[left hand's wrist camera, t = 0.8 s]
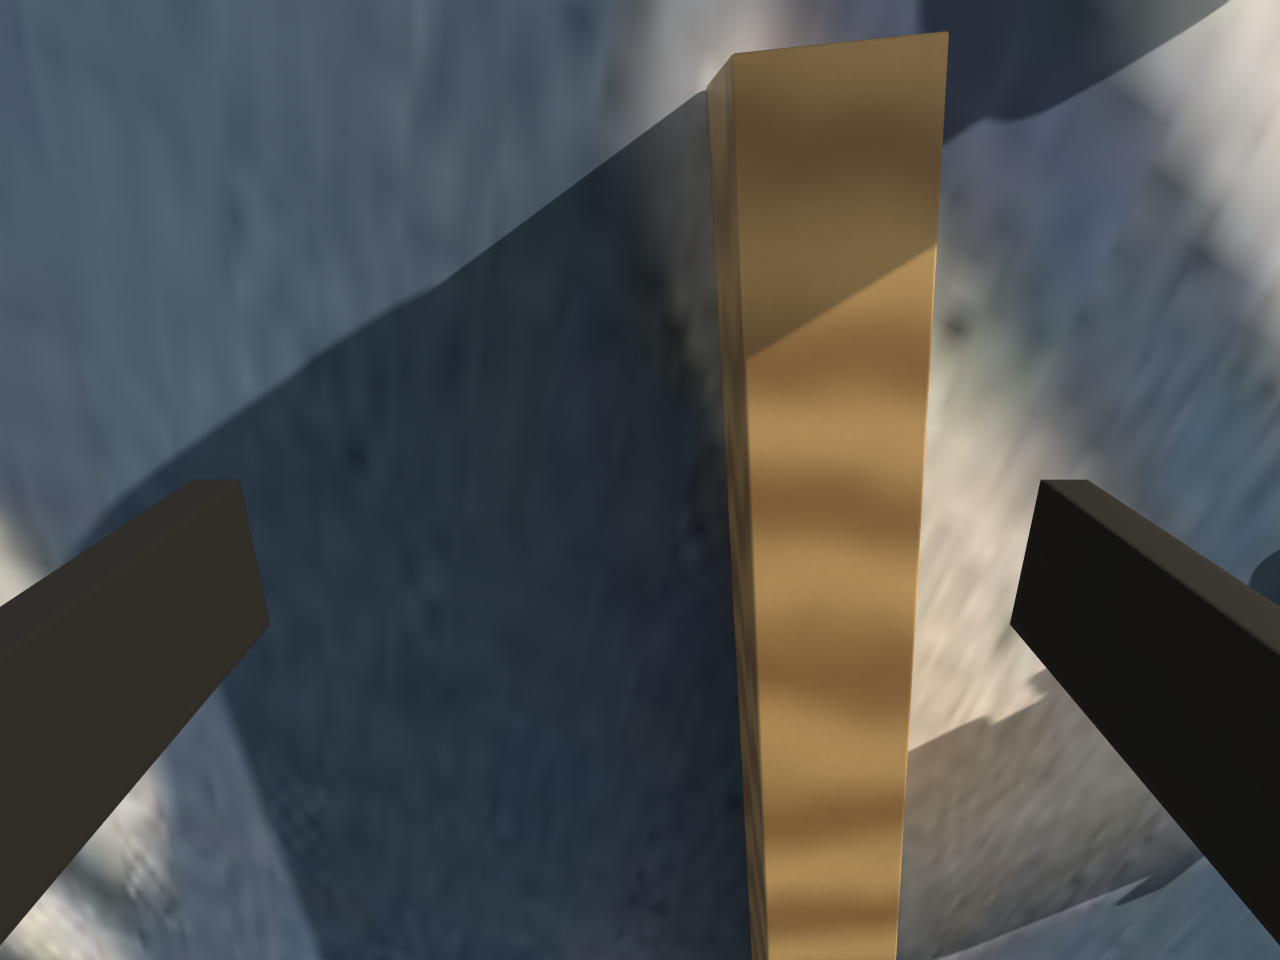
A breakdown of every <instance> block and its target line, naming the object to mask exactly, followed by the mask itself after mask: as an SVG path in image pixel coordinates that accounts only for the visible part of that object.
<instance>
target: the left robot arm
mask: <svg viewBox="0 0 1280 960" xmlns="http://www.w3.org/2000/svg"><path fill="white" fill-rule="evenodd" d="M269 625H270V622H269V617H268V612H267V608H266V603H265V598H264V594H263V589H262V584H261V580H260V575H259V570H258V565H257V561H256V556H255V551H254V547H253V542H252V537H251V533H250V528H249V523H248V518H247V514H246V509H245V504H244V500H243V495H242V490H241V486H240V481H239V480H191V481H190V482H188V483H187V484H185V485H184V486H182V487H181V488H179V489H178V490H176V491H175V492H173V493H172V494H170V495H169V496H167V497H166V498H164V499H163V500H161V501H160V502H158V503H157V504H155V505H154V506H152V507H151V508H149V509H148V510H146V511H145V512H143V513H141V514H140V515H138V516H137V517H135V518H134V519H132V520H131V521H129V522H128V523H126V524H125V525H123V526H122V527H120V528H119V529H117V530H116V531H114V532H113V533H111V534H110V535H108V536H107V537H105V538H104V539H102V540H101V541H99V542H98V543H96V544H95V545H93V546H92V547H90V548H89V549H87V550H86V551H84V552H82V553H81V554H79V555H78V556H76V557H75V558H73V559H72V560H70V561H69V562H67V563H66V564H64V565H63V566H61V567H60V568H58V569H57V570H55V571H54V572H52V573H51V574H49V575H48V576H46V577H45V578H43V579H42V580H40V581H39V582H37V583H36V584H34V585H33V586H31V587H30V588H28V589H27V590H25V591H23V592H22V593H20V594H19V595H17V596H16V597H14V598H13V599H11V600H10V601H8V602H7V603H5V604H4V605H2V606H1V607H0V945H1V944H2V943H3V942H4V940H5V939H6V938H7V937H8V936H9V934H10V933H11V932H12V931H13V930H14V928H15V927H16V926H17V925H18V924H19V922H20V921H21V920H22V919H23V918H24V917H25V915H26V914H27V913H28V912H29V911H30V909H31V908H32V907H33V906H34V905H35V903H36V902H37V901H38V900H39V899H40V897H41V896H42V895H43V894H44V893H45V892H46V890H47V889H48V888H49V887H50V886H51V884H52V883H53V882H54V881H55V880H56V878H57V877H58V876H59V875H60V874H61V872H62V871H63V870H64V869H65V868H66V867H67V865H68V864H69V863H70V862H71V861H72V859H73V858H74V857H75V856H76V855H77V853H78V852H79V851H80V850H81V849H82V847H83V846H84V845H85V844H86V843H87V842H88V840H89V839H90V838H91V837H92V836H93V834H94V833H95V832H96V831H97V830H98V828H99V827H100V826H101V825H102V824H103V822H104V821H105V820H106V819H107V818H108V817H109V815H110V814H111V813H112V812H113V811H114V809H115V808H116V807H117V806H118V805H119V803H120V802H121V801H122V800H123V799H124V797H125V796H126V795H127V794H128V793H129V792H130V790H131V789H132V788H133V787H134V786H135V784H136V783H137V782H138V781H139V780H140V778H141V777H142V776H143V775H144V774H145V772H146V771H147V770H148V769H149V768H150V767H151V765H152V764H153V763H154V762H155V761H156V759H157V758H158V757H159V756H160V755H161V753H162V752H163V751H164V750H165V749H166V748H167V746H168V745H169V744H170V743H171V742H172V740H173V739H174V738H175V737H176V736H177V734H178V733H179V732H180V731H181V730H182V728H183V727H184V726H185V725H186V724H187V723H188V721H189V720H190V719H191V718H192V717H193V715H194V714H195V713H196V712H197V711H198V709H199V708H200V707H201V706H202V705H203V703H204V702H205V701H206V700H207V699H208V698H209V696H210V695H211V694H212V693H213V692H214V690H215V689H216V688H217V687H218V686H219V684H220V683H221V682H222V681H223V680H224V678H225V677H226V676H227V675H228V674H229V673H230V671H231V670H232V669H233V668H234V667H235V665H236V664H237V663H238V662H239V661H240V659H241V658H242V657H243V656H244V655H245V653H246V652H247V651H248V650H249V649H250V648H251V646H252V645H253V644H254V643H255V642H256V640H257V639H258V638H259V637H260V636H261V634H262V633H263V632H264V631H265V630H266V628H267V627H268V626H269ZM1010 625H1011V626H1012V627H1013V628H1014V630H1015V631H1016V632H1017V633H1018V634H1019V636H1020V637H1021V638H1022V639H1023V640H1024V642H1025V643H1026V644H1027V645H1028V646H1029V648H1030V649H1031V650H1032V651H1033V652H1034V653H1035V655H1036V656H1037V657H1038V658H1039V659H1040V661H1041V662H1042V663H1043V664H1044V665H1045V667H1046V668H1047V669H1048V670H1049V671H1050V673H1051V674H1052V675H1053V676H1054V677H1055V678H1056V680H1057V681H1058V682H1059V683H1060V684H1061V686H1062V687H1063V688H1064V689H1065V690H1066V692H1067V693H1068V694H1069V695H1070V696H1071V698H1072V699H1073V700H1074V701H1075V702H1076V703H1077V705H1078V706H1079V707H1080V708H1081V709H1082V711H1083V712H1084V713H1085V714H1086V715H1087V717H1088V718H1089V719H1090V720H1091V721H1092V723H1093V724H1094V725H1095V726H1096V727H1097V728H1098V730H1099V731H1100V732H1101V733H1102V734H1103V736H1104V737H1105V738H1106V739H1107V740H1108V742H1109V743H1110V744H1111V745H1112V746H1113V748H1114V749H1115V750H1116V751H1117V752H1118V753H1119V755H1120V756H1121V757H1122V758H1123V759H1124V761H1125V762H1126V763H1127V764H1128V765H1129V767H1130V768H1131V769H1132V770H1133V771H1134V772H1135V774H1136V775H1137V776H1138V777H1139V778H1140V780H1141V781H1142V782H1143V783H1144V784H1145V786H1146V787H1147V788H1148V789H1149V790H1150V792H1151V793H1152V794H1153V795H1154V796H1155V797H1156V799H1157V800H1158V801H1159V802H1160V803H1161V805H1162V806H1163V807H1164V808H1165V809H1166V811H1167V812H1168V813H1169V814H1170V815H1171V817H1172V818H1173V819H1174V820H1175V821H1176V822H1177V824H1178V825H1179V826H1180V827H1181V828H1182V830H1183V831H1184V832H1185V833H1186V834H1187V836H1188V837H1189V838H1190V839H1191V840H1192V842H1193V843H1194V844H1195V845H1196V846H1197V847H1198V849H1199V850H1200V851H1201V852H1202V853H1203V855H1204V856H1205V857H1206V858H1207V859H1208V861H1209V862H1210V863H1211V864H1212V865H1213V867H1214V868H1215V869H1216V870H1217V871H1218V872H1219V874H1220V875H1221V876H1222V877H1223V878H1224V880H1225V881H1226V882H1227V883H1228V884H1229V886H1230V887H1231V888H1232V889H1233V890H1234V892H1235V893H1236V894H1237V895H1238V896H1239V897H1240V899H1241V900H1242V901H1243V902H1244V903H1245V905H1246V906H1247V907H1248V908H1249V909H1250V911H1251V912H1252V913H1253V914H1254V915H1255V917H1256V918H1257V919H1258V920H1259V921H1260V922H1261V924H1262V925H1263V926H1264V927H1265V928H1266V930H1267V931H1268V932H1269V933H1270V934H1271V936H1272V937H1273V938H1274V939H1275V940H1276V942H1277V943H1278V944H1279V945H1280V607H1279V606H1278V605H1276V604H1275V603H1273V602H1272V601H1270V600H1269V599H1267V598H1266V597H1264V596H1263V595H1261V594H1260V593H1258V592H1256V591H1255V590H1253V589H1252V588H1250V587H1249V586H1247V585H1246V584H1244V583H1243V582H1241V581H1240V580H1238V579H1237V578H1235V577H1234V576H1232V575H1231V574H1229V573H1228V572H1226V571H1225V570H1223V569H1222V568H1220V567H1219V566H1217V565H1216V564H1214V563H1213V562H1211V561H1210V560H1208V559H1207V558H1205V557H1204V556H1202V555H1201V554H1199V553H1198V552H1196V551H1194V550H1193V549H1191V548H1190V547H1188V546H1187V545H1185V544H1184V543H1182V542H1181V541H1179V540H1178V539H1176V538H1175V537H1173V536H1172V535H1170V534H1169V533H1167V532H1166V531H1164V530H1163V529H1161V528H1160V527H1158V526H1157V525H1155V524H1154V523H1152V522H1151V521H1149V520H1148V519H1146V518H1145V517H1143V516H1142V515H1140V514H1139V513H1137V512H1135V511H1134V510H1132V509H1131V508H1129V507H1128V506H1126V505H1125V504H1123V503H1122V502H1120V501H1119V500H1117V499H1116V498H1114V497H1113V496H1111V495H1110V494H1108V493H1107V492H1105V491H1104V490H1102V489H1101V488H1099V487H1098V486H1096V485H1095V484H1093V483H1092V482H1090V481H1089V480H1041V481H1040V486H1039V490H1038V495H1037V500H1036V504H1035V509H1034V514H1033V518H1032V523H1031V528H1030V533H1029V537H1028V542H1027V547H1026V551H1025V556H1024V561H1023V565H1022V570H1021V575H1020V580H1019V584H1018V589H1017V594H1016V598H1015V603H1014V608H1013V612H1012V617H1011V622H1010Z"/></svg>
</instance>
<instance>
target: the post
mask: <svg viewBox="0 0 1280 960" xmlns="http://www.w3.org/2000/svg"><path fill="white" fill-rule="evenodd" d="M948 40H949V34H948V32H946V31H943V32H934V33H924V34H915V35H905V36H896V37H886V38H877V39H867V40H858V41H848V42H839V43H829V44H820V45H810V46H801V47H791V48H782V49H772V50H763V51H753V52H744V53H735V54H733V55H732V56H731V57H730V58H729V59H728V61H727V62H726V63H725V64H724V66H723V67H722V68H721V69H720V71H719V72H718V73H717V74H716V76H715V77H714V78H713V79H712V81H711V82H710V83H709V84H708V86H707V104H708V123H709V142H710V162H711V181H712V200H713V219H714V239H715V258H716V277H717V297H718V316H719V335H720V354H721V374H722V393H723V412H724V431H725V451H726V470H727V489H728V508H729V528H730V547H731V566H732V585H733V605H734V624H735V643H736V662H737V682H738V701H739V720H740V740H741V759H742V778H743V797H744V817H745V836H746V855H747V874H748V894H749V913H750V932H751V951H752V960H896V949H897V931H898V914H899V896H900V879H901V861H902V844H903V826H904V809H905V791H906V774H907V756H908V739H909V721H910V704H911V687H912V669H913V652H914V634H915V617H916V599H917V582H918V564H919V547H920V529H921V512H922V494H923V477H924V459H925V442H926V424H927V407H928V389H929V372H930V354H931V337H932V319H933V302H934V284H935V267H936V249H937V232H938V215H939V197H940V180H941V162H942V145H943V127H944V110H945V92H946V75H947V57H948Z"/></svg>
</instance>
